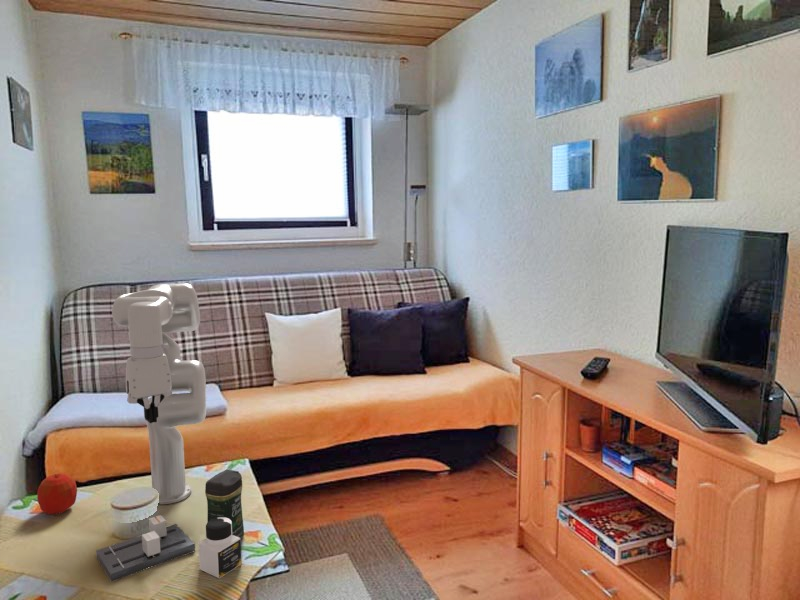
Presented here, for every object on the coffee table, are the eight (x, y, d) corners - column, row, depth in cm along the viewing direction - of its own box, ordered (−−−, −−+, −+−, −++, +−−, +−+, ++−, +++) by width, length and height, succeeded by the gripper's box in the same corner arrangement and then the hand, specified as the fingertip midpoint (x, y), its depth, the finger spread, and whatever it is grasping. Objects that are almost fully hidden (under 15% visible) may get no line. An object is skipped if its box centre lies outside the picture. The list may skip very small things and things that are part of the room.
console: (96, 557, 150) (95, 549, 150) (176, 530, 163) (175, 523, 162) (111, 581, 140) (110, 573, 140) (195, 550, 153) (194, 543, 153)
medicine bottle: (219, 579, 141) (217, 532, 139) (199, 570, 145) (196, 523, 143) (242, 564, 147) (240, 518, 145) (222, 555, 151) (220, 511, 149)
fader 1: (149, 532, 157) (148, 518, 156) (161, 529, 159) (160, 514, 158) (155, 539, 154) (154, 524, 153) (166, 535, 156) (165, 520, 155)
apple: (65, 520, 168) (62, 481, 167) (30, 519, 169) (26, 481, 167) (85, 502, 178) (82, 466, 177) (51, 502, 179) (48, 465, 177)
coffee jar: (229, 554, 152) (225, 484, 149) (202, 548, 154) (198, 480, 151) (249, 534, 161) (247, 469, 158) (224, 529, 163) (221, 465, 160)
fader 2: (142, 549, 149) (141, 534, 149) (155, 545, 151) (154, 530, 150) (148, 556, 146) (147, 541, 146) (160, 552, 148) (159, 536, 147)
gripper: (172, 344, 157) (176, 410, 160) (110, 353, 147) (116, 423, 151) (182, 349, 151) (186, 418, 154) (119, 359, 142) (124, 433, 145)
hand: (151, 421), depth 153 cm, fingers closed
